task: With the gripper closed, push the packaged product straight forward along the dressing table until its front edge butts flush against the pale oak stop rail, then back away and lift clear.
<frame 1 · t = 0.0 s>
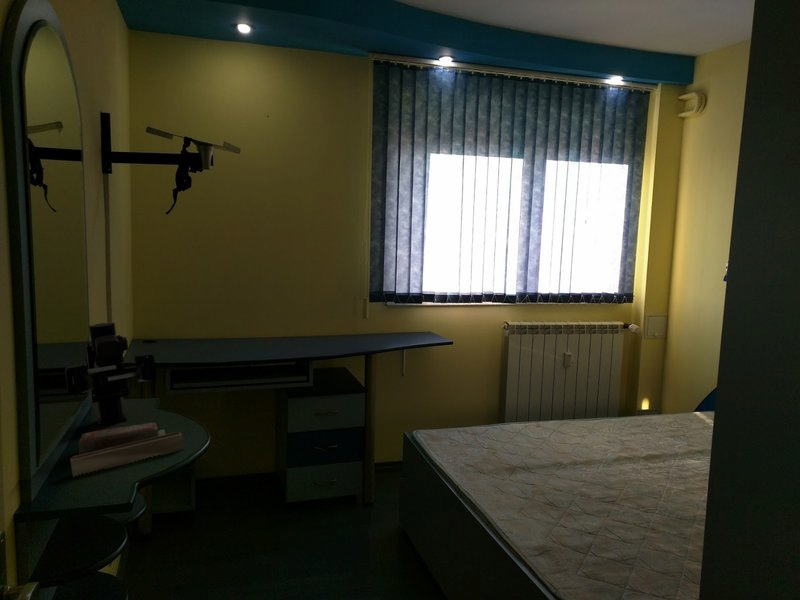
hand: (116, 380, 130), 17 cm above the table, tool horizontal, fingers open, 9 cm apart
packaged product: (124, 449, 135), on the table
oak stop rail: (130, 461, 127), on the table
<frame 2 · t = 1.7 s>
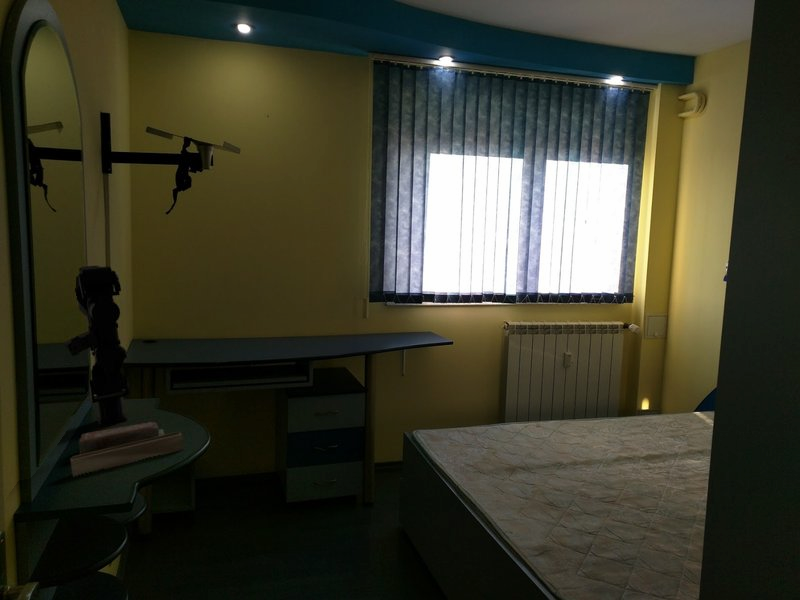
hand: (111, 382, 142), 13 cm above the table, tool pointing down, fingers open, 6 cm apart
nothing on the table moved.
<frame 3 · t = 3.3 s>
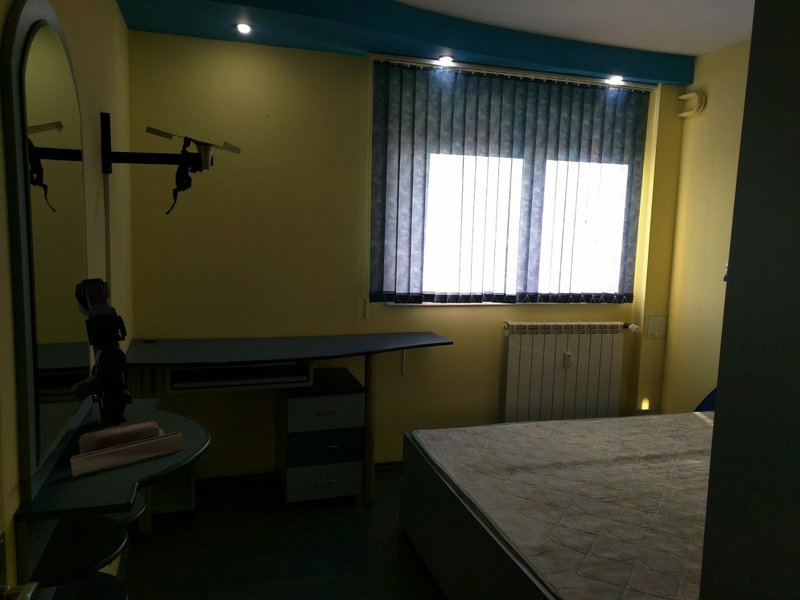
hand: (117, 425, 143), 2 cm above the table, tool pointing down, fingers closed
nothing on the table moved.
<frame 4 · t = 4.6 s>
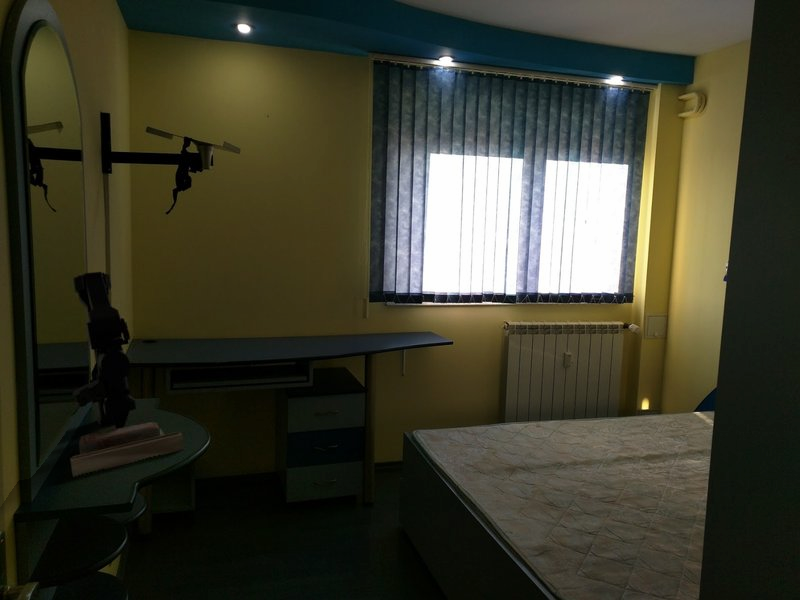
hand: (120, 431, 139), 2 cm above the table, tool pointing down, fingers closed
packaged product: (124, 449, 136), on the table, touching gripper
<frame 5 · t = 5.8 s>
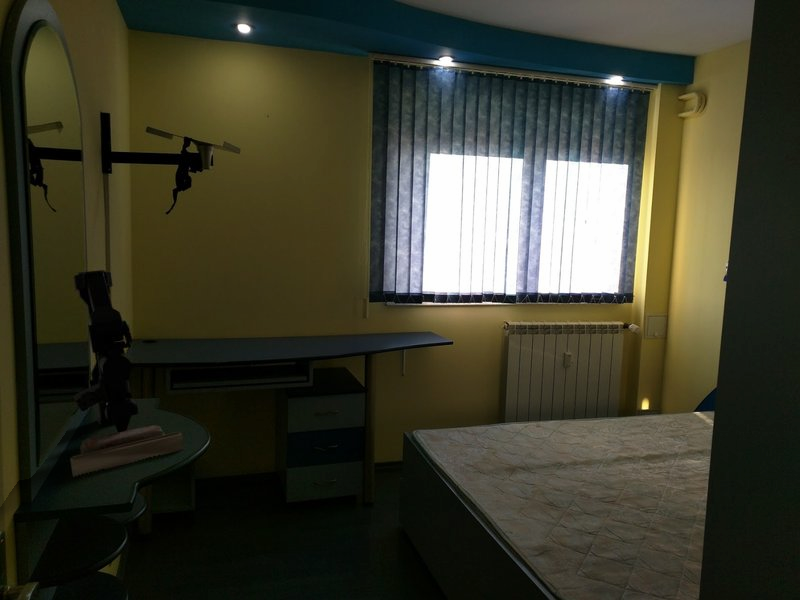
hand: (121, 436, 136), 2 cm above the table, tool pointing down, fingers closed
packaged product: (127, 453, 133), on the table
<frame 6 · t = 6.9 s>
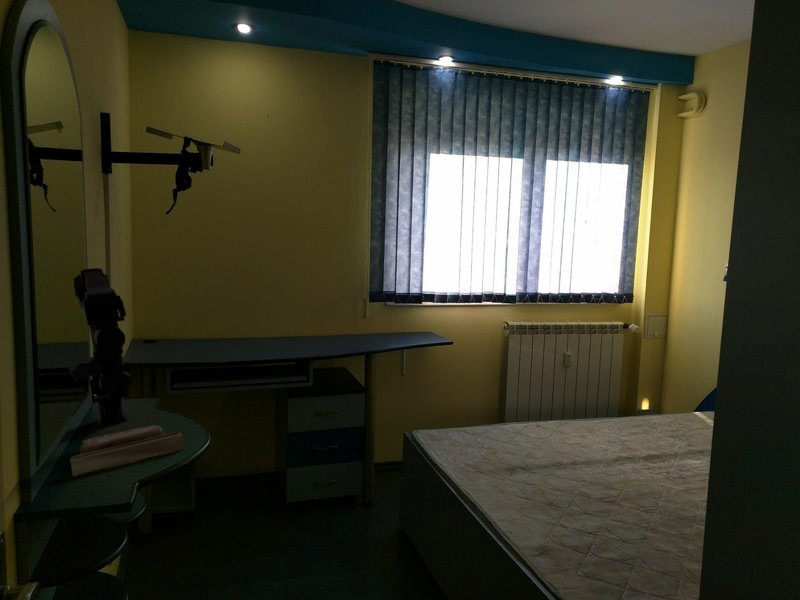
hand: (116, 408, 140), 7 cm above the table, tool pointing down, fingers closed
nothing on the table moved.
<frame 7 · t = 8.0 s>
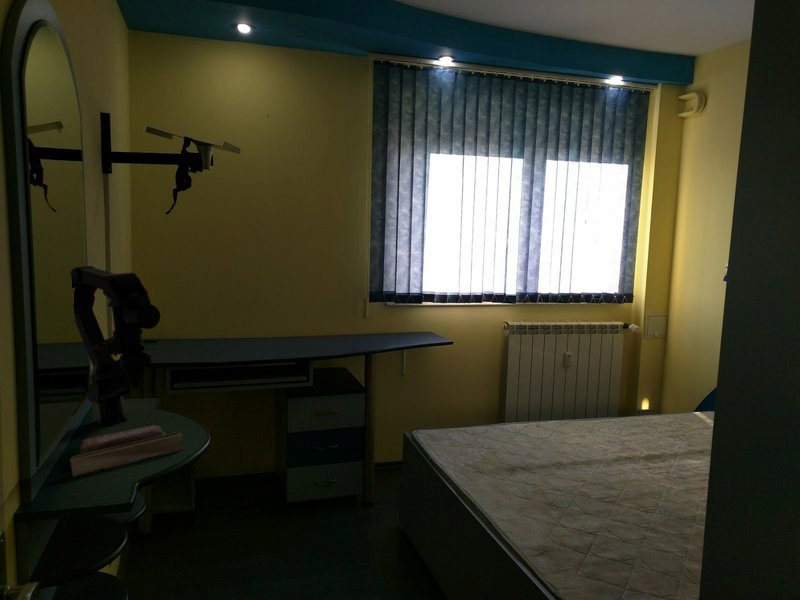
hand: (135, 387, 144), 11 cm above the table, tool pointing down, fingers closed
nothing on the table moved.
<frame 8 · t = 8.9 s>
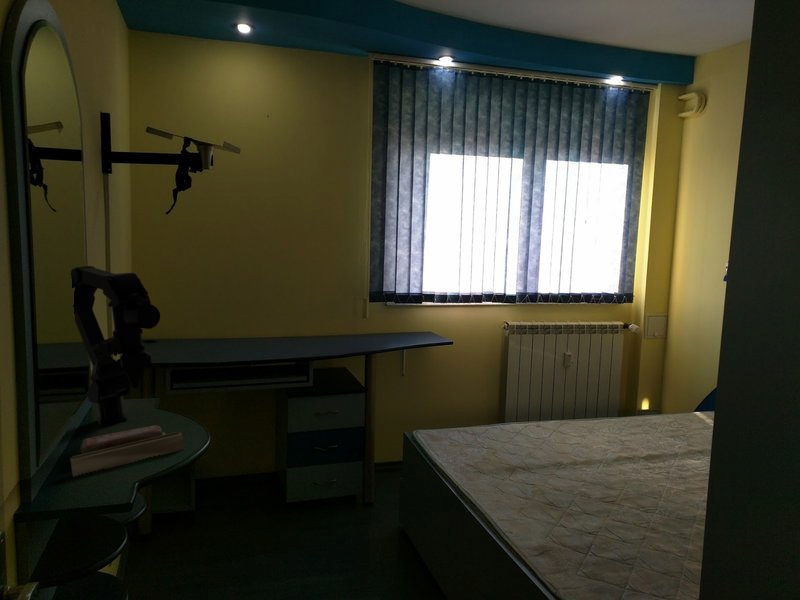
hand: (135, 387, 144), 11 cm above the table, tool pointing down, fingers closed
nothing on the table moved.
at the end: packaged product 1.0 cm from the target spot, on the table; packaged product tilted 0°; the gripper is holding nothing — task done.
